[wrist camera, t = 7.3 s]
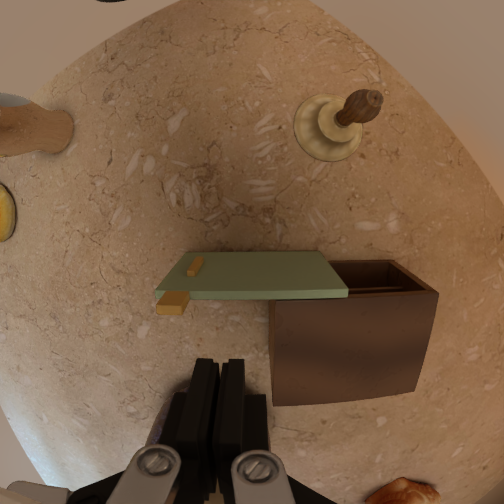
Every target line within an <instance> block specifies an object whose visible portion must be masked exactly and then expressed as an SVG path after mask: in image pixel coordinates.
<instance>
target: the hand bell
mask: <svg viewBox="0 0 504 504" xmlns="http://www.w3.org/2000/svg"><path fill="white" fill-rule="evenodd" d="M382 103H383V96H382V94H381V93H380V92H379V91H377V90H367V89H362V90H358V91H355V92H353V93H352V94H351V95H350V96H349V97H348V98H347V99H346V100H345V99H343V98H342V97H339V96H337V95H333V94H318V95H314V96H312V97H310V98H308V99H307V100H305V101H304V102H303V103H302V104H301V105H300V106H299V108H298V110H297V112H296V114H295V118H294V133H295V136H296V139H297V141H298V143H299V145H300V146H301V147H302V149H303V150H304V151H305V152H306V153H307V154H309V155H310V156H312V157H314V158H316V159H318V160H321V161H325V162H336V161H341V160H343V159H345V158H347V157H349V156H350V155H351V154H353V153H354V152H355V150H356V149H357V148H358V146H359V144H360V141H361V138H362V123H365V122H368V121H371V120H372V119H374V118H375V117H376V116H377V115H378V114H379V112H380V110H381V105H382Z"/></svg>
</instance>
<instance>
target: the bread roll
mask: <svg viewBox="0 0 504 504" xmlns="http://www.w3.org/2000/svg"><path fill="white" fill-rule="evenodd" d="M14 225H15V206H14V202H13V200H12V198H11V196H10V194H9V193H7V192H6V189H5V188H4V187H3V186H2V185H1V184H0V242H2V241H5V240H6V239H8V238H9V237H10V235H11V234H12V232H13V229H14Z"/></svg>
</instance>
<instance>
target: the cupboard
mask: <svg viewBox="0 0 504 504" xmlns="http://www.w3.org/2000/svg"><path fill="white" fill-rule="evenodd" d="M327 262H328V263H329V264H330V265H331V267H332V268H333V269H334V271H335V272H336V273H337V274H338V276H339V277H340V278H341V280H342V281H343V282H344V284H345V285H346V286H347V288H348V289H349V290H348V297H344V298H316V299H270V300H269V359H270V373H271V387H272V402H273V406H298V405H314V404H327V403H338V402H347V401H356V400H364V399H372V398H379V397H385V396H391V395H397V394H403V393H409V392H414V391H415V388H416V385H417V382H418V379H419V375H420V372H421V369H422V365H423V362H424V358H425V354H426V351H427V347H428V343H429V339H430V335H431V331H432V326H433V322H434V317H435V312H436V308H437V303H438V297H439V293H438V292H437V291H436V290H434V289H433V288H432V287H430V286H429V285H428V284H426V283H425V282H423V281H422V280H421V279H419V278H418V277H417V276H415V275H414V274H412V273H411V272H410V271H408V270H407V269H405V268H404V267H402V266H401V265H400V264H398V263H397V262H395V261H394V260H346V261H327Z"/></svg>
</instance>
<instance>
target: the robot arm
mask: <svg viewBox="0 0 504 504" xmlns="http://www.w3.org/2000/svg"><path fill="white" fill-rule="evenodd" d="M217 479H218V485H219V490H220V494H223V499H224V504H337V503H335V502H333V501H331V500H329V499H328V498H326V497H324V496H322V495H320V494H319V493H317V492H315V491H313V490H312V489H310V488H308V487H307V486H305V485H303V484H302V483H300V482H298V481H297V480H295V479H293V478H292V477H290V476H288V475H287V474H286V471H285V468H284V464H283V462H282V461H281V459H280V458H279V457H278V456H277V455H276V454H274V453H271V452H269V446H268V425H267V406H266V394H245V366H244V359H229V362H228V363H223V365H222V372H221V379H220V373H219V363H213V359H207V358H197V360H196V364H195V367H194V371H193V375H192V378H191V382H190V386H189V389H188V393H187V392H175V393H174V395H173V397H172V401H171V404H170V407H169V410H168V413H167V416H166V419H165V423H164V426H163V429H162V432H161V435H160V439H159V442H158V444H151V445H148V446H145V447H142V448H141V449H139V450H138V451H137V452H136V453H135V455H134V456H133V458H132V459H131V461H130V463H129V465H128V466H127V468H126V470H124V471H122V472H119V473H117V474H115V475H112V476H110V477H108V478H105V479H103V480H100V481H98V482H95V483H93V484H90V485H88V486H85V487H83V488H80V489H78V490H76V491H74V492H72V491H70V490H69V489H68V488H61V487H54V486H47V485H42V484H36V483H31V482H26V481H15V482H13V483H12V484H10V485H9V486H8V487H7V489H4V488H0V504H204V501H209V496H210V493H216V485H217Z"/></svg>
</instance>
